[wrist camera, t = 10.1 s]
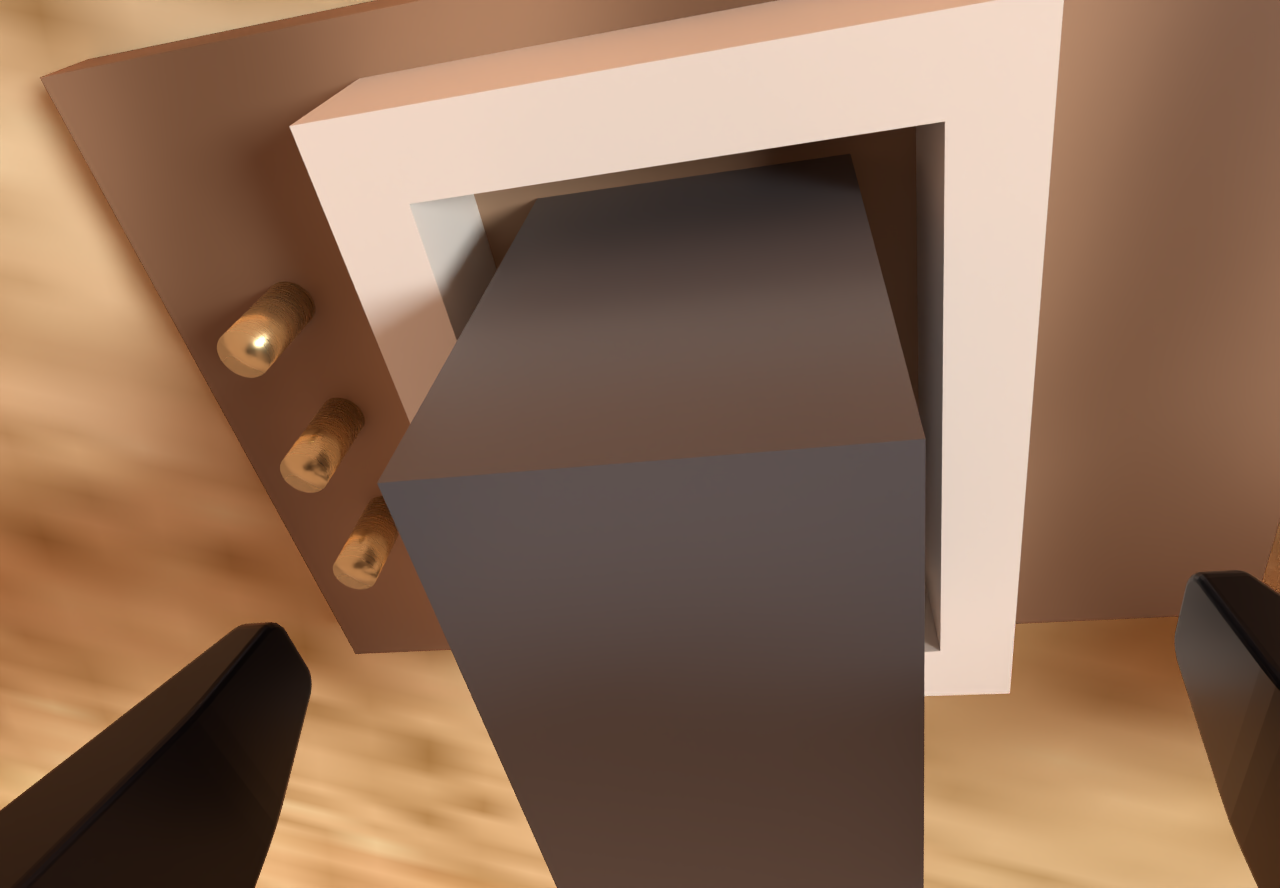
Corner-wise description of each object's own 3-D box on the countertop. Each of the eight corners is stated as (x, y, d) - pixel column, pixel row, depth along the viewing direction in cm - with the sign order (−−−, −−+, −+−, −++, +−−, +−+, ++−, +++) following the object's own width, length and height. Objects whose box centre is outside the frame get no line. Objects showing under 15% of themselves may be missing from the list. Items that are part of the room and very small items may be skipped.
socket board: (1430, -216, 9) (1679, -224, 7) (1226, 570, 15) (1314, 715, 13) (87, 59, 12) (-81, 123, 10) (373, 616, 18) (315, 740, 16)
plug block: (850, 153, 11) (924, 439, 6) (866, 524, 14) (923, 898, 9) (536, 198, 11) (377, 482, 7) (624, 540, 15) (559, 893, 10)
